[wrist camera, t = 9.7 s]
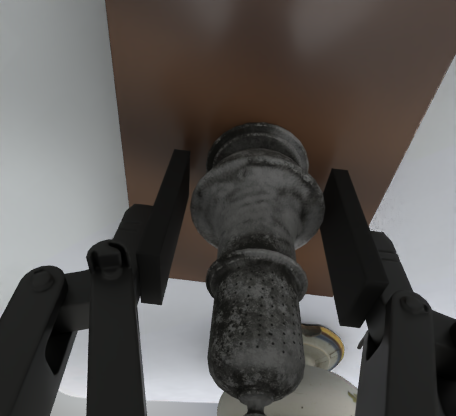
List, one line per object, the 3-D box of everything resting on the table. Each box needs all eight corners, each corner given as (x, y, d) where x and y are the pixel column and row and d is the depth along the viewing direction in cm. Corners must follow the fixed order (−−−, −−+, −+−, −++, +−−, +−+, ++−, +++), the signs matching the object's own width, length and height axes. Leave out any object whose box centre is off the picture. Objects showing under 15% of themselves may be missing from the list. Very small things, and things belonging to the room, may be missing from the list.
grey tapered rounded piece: (269, 90, 15) (288, 357, 6) (336, 177, 18) (422, 455, 8) (176, 161, 18) (88, 420, 8) (247, 227, 20) (238, 478, 11)
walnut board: (103, -112, 12) (90, -114, 11) (494, -60, 12) (513, -59, 11) (141, 261, 25) (136, 274, 24) (330, 283, 25) (332, 297, 24)
